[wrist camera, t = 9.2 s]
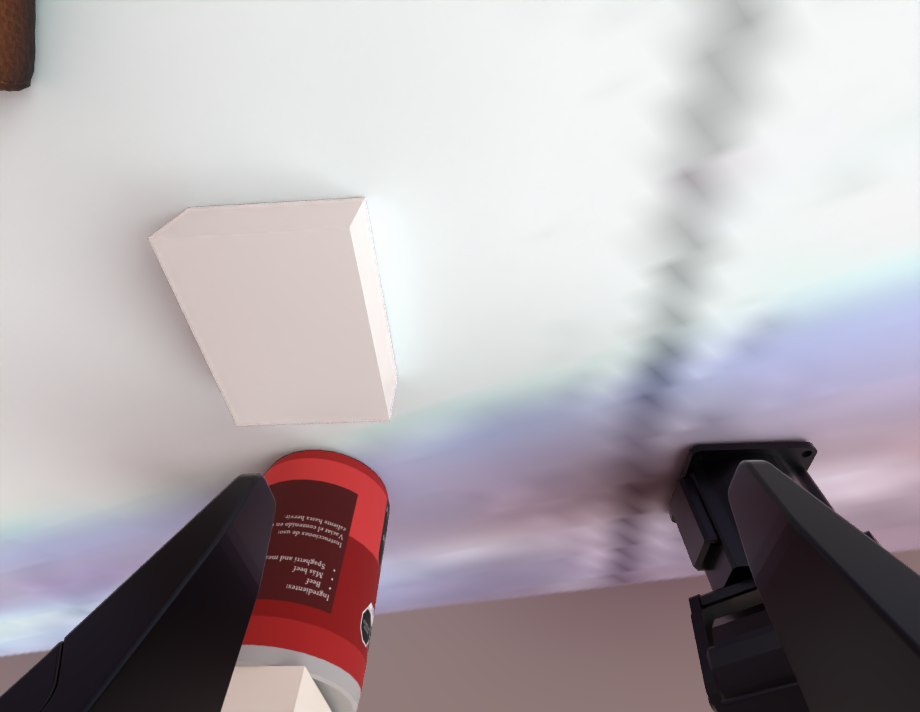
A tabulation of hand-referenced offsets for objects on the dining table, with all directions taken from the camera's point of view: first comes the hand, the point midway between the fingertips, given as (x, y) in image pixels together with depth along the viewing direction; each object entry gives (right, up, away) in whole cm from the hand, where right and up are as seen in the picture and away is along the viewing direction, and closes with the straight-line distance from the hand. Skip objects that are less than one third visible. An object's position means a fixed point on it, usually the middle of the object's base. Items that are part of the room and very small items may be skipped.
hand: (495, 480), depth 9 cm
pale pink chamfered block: (-8, +5, +12) cm, 15 cm away
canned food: (-9, -6, +20) cm, 23 cm away
